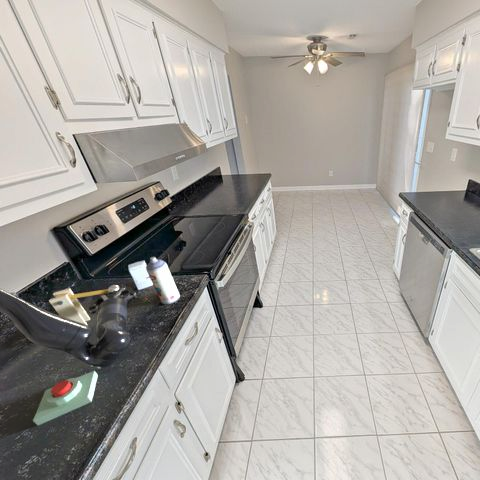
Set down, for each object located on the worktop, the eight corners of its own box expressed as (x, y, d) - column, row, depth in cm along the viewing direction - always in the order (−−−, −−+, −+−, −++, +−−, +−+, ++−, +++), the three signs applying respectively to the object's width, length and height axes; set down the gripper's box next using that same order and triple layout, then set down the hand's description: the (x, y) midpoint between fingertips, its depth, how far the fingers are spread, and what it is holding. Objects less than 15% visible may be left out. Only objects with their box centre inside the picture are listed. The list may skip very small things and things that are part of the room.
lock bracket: (100, 315, 98) (79, 283, 90) (96, 329, 92) (73, 295, 84) (70, 325, 94) (46, 292, 87) (64, 340, 88) (37, 306, 81)
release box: (98, 375, 75) (91, 366, 73) (91, 401, 68) (84, 393, 66) (49, 395, 71) (41, 386, 69) (37, 425, 64) (28, 417, 62)
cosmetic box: (139, 292, 109) (127, 269, 104) (138, 287, 113) (127, 264, 107) (155, 286, 112) (144, 264, 106) (154, 282, 116) (144, 259, 110)
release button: (73, 381, 70) (70, 377, 69) (70, 392, 67) (66, 388, 66) (56, 388, 68) (53, 384, 68) (52, 400, 66) (48, 396, 65)
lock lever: (121, 290, 96) (119, 282, 95) (120, 295, 93) (118, 287, 92) (60, 300, 88) (56, 291, 86) (56, 306, 85) (53, 297, 84)
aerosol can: (158, 300, 104) (139, 259, 94) (175, 291, 108) (158, 251, 99) (165, 307, 100) (145, 265, 90) (182, 297, 104) (165, 256, 95)
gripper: (133, 296, 85) (132, 273, 97) (79, 315, 78) (86, 288, 91) (142, 313, 88) (140, 289, 101) (91, 333, 81) (96, 304, 94)
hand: (114, 289), depth 96 cm, fingers closed on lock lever, 4 cm apart
